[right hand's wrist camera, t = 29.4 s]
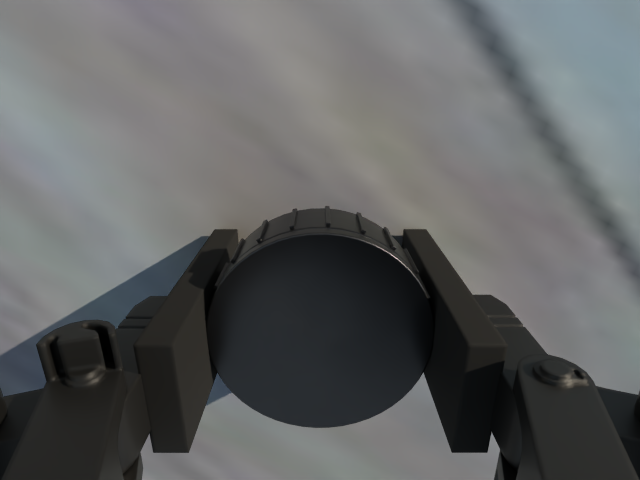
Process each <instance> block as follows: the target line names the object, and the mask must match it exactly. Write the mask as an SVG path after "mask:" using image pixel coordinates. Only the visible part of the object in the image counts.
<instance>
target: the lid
mask: <svg viewBox="0 0 640 480" xmlns="http://www.w3.org/2000/svg"><path fill="white" fill-rule="evenodd" d="M418 273H419V271H418V269H417V267H416V266H415V264H414V262H413V260H412V258H411V256H410V254H409V252H408V250H407V249H406V248H405V249H404V250H403V248H402V247H401V246H400V244H399V243H398V242H397V241H396V240H395V239H394V238H393V237H392V236H391V235H390V232H389V230H388V229H387V228H386V227H384V229H383V228H381V227H380V226H378V225H377V224H375V223H373V222H372V221H370V220H368V219H366V218H364V217H362V216H361V213H358V212H357V214H353V213H350V212H345V211H341V210H334V209H330V208H329V206H325V209H306V210H299V211H297V209H293V211H292V212H291V213H288V214H284V215H282V216H280V217H277V218H275V219H272V220H271V221H269V222H268V221H267V220H265V221H263V224H262V226H260V227H259V228H258V229H257V230H255V231H254V232H253V233H252V234H250V235H249V236H248V237H247V238H246V239H245V240H244V239H243V238H242V239H241V240H240V242H239V244H238V246H237V248H236V250H235V252H234V254H233V256H232V259H231V261H230V263H227V262H226V264H225V266H224V268H223V270H222V272H221V274H220V276H219V278H218V280H217V282H216V284H215V286H214V289H216V291H215V293H214V295H213V298H212V301H211V304H210V307H209V310H208V316H207V321H206V333H207V342H208V350H209V353H210V356H211V360H212V362H213V364H214V366H215V369H216V371H217V373H218V374H219V376H220V377H221V379H222V380H223V382H224V383H225V384H226V386H227V387H228V388H229V389H230V390H231V392H232V393H233V394H235V395H236V396H237V397H238V398H239V399H240V400H241V401H242V402H244V403H245V404H246V405H248V406H249V407H251V408H252V409H254V410H256V411H257V412H259V413H261V414H263V415H265V416H267V417H270V418H272V419H274V420H277V421H280V422H284V423H287V424H291V425H297V426H302V427H313V428H329V427H338V426H344V425H349V424H353V423H357V422H360V421H363V420H366V419H369V418H371V417H373V416H375V415H378V414H380V413H382V412H383V411H385V410H387V409H388V408H390V407H391V406H393V405H394V404H395V403H397V402H398V401H399V400H401V399H402V398H403V397H404V396H405V395H406V394H407V393H408V392H409V391H410V390H411V389H412V388H413V386H414V385H415V384H416V383H417V381H418V380H419V379H420V377H421V375H422V373H423V372H424V370H425V368H426V366H427V363H428V361H429V358H430V356H431V352H432V348H433V340H434V316H433V312H432V307H431V304H430V301H431V298H430V296H429V294H428V292H427V290H426V288H425V286H424V284H423V282H422V280H421V278H420V276H419V274H418Z"/></svg>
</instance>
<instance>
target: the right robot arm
mask: <svg viewBox="0 0 640 480" xmlns="http://www.w3.org/2000/svg"><path fill="white" fill-rule="evenodd" d="M237 246H238V233H237V229H215V230H214V231H213V233H212V234H211V235H210V237H209V238H208V240H207V241H206V243H205V244H204V245H203V247H202V248H201V250H200V251H199V252H198V254H197V255H196V257H195V258H194V259H193V261H192V262H191V264H190V265H189V267H188V268H187V269H186V271H185V272H184V274H183V275H182V276H181V278H180V279H179V281H178V282H177V283H176V285H175V286H174V288H173V289H172V291H171V292H170V293H169V295H168V296H150V297H148V298H147V299H145V300H144V301H142V302H140V303H139V304H137V305H135V306H134V308H133V309H132V310H131V311H130V312H129V314H128V315H127V316H126V319H124V320H123V321H122V322H121V323H120V325H119V326H118V329H116V330H115V326H113V325H112V324H111V323H109V322H107V321H101V320H84V321H80V322H75V323H71V324H68V325H65V326H63V327H60V328H57V329H55V330H53V331H52V332H50V333H49V334H47V335H45V336H44V337H43V338H42V339H41V340H40V341H39V342H38V343H37V344H36V346H37V350H38V353H39V357H40V360H41V363H42V367H43V370H44V374H45V377H46V381H47V382H46V384H45V387H44V388H42V389H39V390H34V391H29V392H24V393H19V394H14V395H9V396H4V397H3V394H2V391H1V388H0V480H142V473H143V464H142V458H141V453H140V451H141V449H142V447H143V445H144V443H145V441H146V439H147V437H148V435H149V433H150V438H151V443H152V448H153V453H189V451H190V448H191V445H192V442H193V439H194V436H195V434H196V431H197V428H198V425H199V422H200V420H201V417H202V414H203V411H204V408H205V405H206V403H207V400H208V397H209V394H210V391H211V389H212V386H213V383H214V380H215V377H216V374H217V371H216V369H215V366H214V364H213V362H212V360H211V356H210V353H209V350H208V342H207V333H206V321H207V316H208V310H209V307H210V304H211V301H212V298H213V295H214V293H215V291H216V289H214V286H215V284H216V282H217V280H218V278H219V276H220V274H221V272H222V270H223V268H224V266H225V264H226V262H227V263H230V261H231V259H232V256H233V254H234V252H235V250H236V248H237ZM402 248H403V250H404V249H405V248H406V249H407V250H408V252H409V254H410V256H411V258H412V260H413V262H414V264H415V266H416V267H417V269H418V271H419V273H418V274H419V276H420V278H421V280H422V282H423V284H424V286H425V288H426V290H427V292H428V294H429V296H430V298H431V301H430V304H431V307H432V312H433V316H434V340H433V348H432V352H431V356H430V358H429V361H428V363H427V366H426V368H425V370H424V375H425V378H426V381H427V383H428V386H429V389H430V392H431V395H432V398H433V400H434V403H435V406H436V409H437V412H438V414H439V417H440V420H441V423H442V426H443V429H444V431H445V434H446V437H447V440H448V443H449V446H450V448H451V451H452V453H487V452H488V447H489V441H490V436H491V431H492V433H493V435H494V437H495V439H496V442H497V444H498V446H499V448H500V453H499V458H498V463H497V468H496V473H495V478H494V480H640V391H639V394H638V395H635V394H630V393H626V392H621V391H616V390H611V389H606V388H602V387H598V386H595V384H594V382H593V380H592V379H591V378H590V376H589V375H588V374H587V372H585V371H584V370H583V369H581V368H580V367H578V366H577V365H576V364H574V363H571V362H569V361H567V360H565V359H563V358H559V357H555V356H551V355H548V354H547V353H546V352H545V351H544V350H543V348H542V347H541V346H540V345H539V344H538V342H537V341H536V340H535V339H534V337H533V336H532V335H531V334H530V333H529V331H528V330H527V329H526V328H525V327H523V324H522V323H521V322H520V321H519V319H518V318H515V315H514V313H513V312H512V311H511V310H510V308H509V307H508V306H507V305H506V304H505V303H503V302H501V301H500V300H498V299H497V298H495V297H493V296H492V295H472V293H471V292H470V291H469V289H468V288H467V286H466V285H465V284H464V282H463V281H462V279H461V278H460V277H459V275H458V274H457V272H456V271H455V269H454V268H453V267H452V265H451V264H450V262H449V261H448V260H447V258H446V257H445V255H444V254H443V252H442V251H441V250H440V248H439V247H438V245H437V244H436V243H435V241H434V240H433V238H432V237H431V236H430V234H429V233H428V231H427V230H426V229H404V232H403V246H402Z"/></svg>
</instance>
